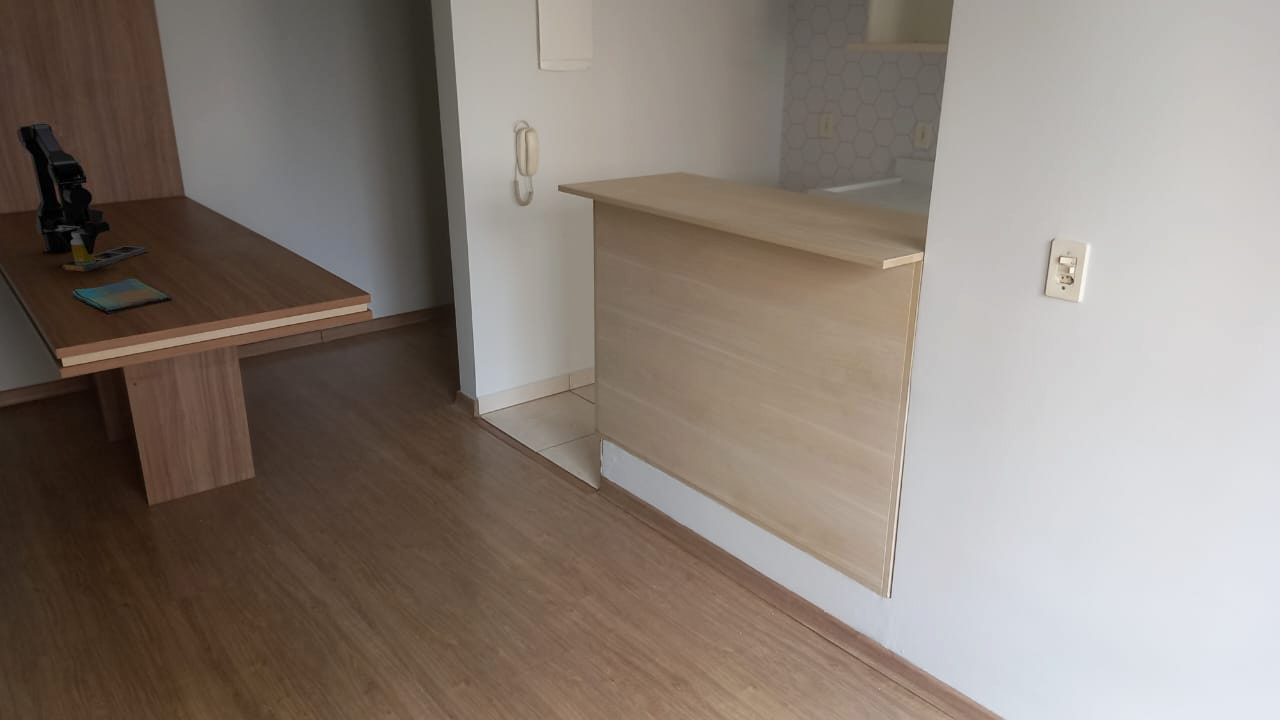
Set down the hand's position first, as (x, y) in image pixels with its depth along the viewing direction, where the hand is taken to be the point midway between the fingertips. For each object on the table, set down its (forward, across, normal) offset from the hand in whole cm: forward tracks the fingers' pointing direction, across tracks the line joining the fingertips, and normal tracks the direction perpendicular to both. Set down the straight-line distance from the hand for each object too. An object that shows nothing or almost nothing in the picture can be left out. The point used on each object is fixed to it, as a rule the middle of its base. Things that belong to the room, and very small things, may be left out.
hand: (83, 253), depth 273 cm
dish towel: (+5, -35, +22) cm, 42 cm away
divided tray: (+4, 0, -8) cm, 9 cm away
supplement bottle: (+3, 0, 0) cm, 3 cm away
